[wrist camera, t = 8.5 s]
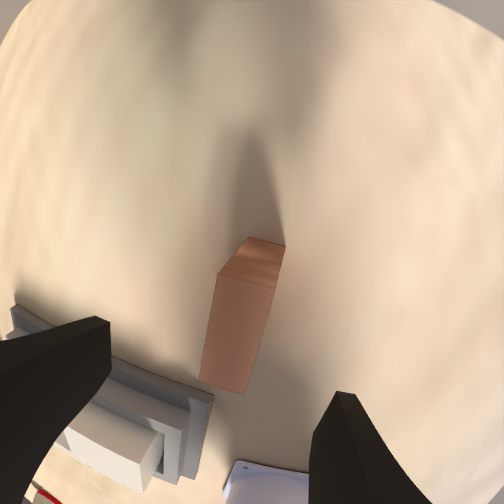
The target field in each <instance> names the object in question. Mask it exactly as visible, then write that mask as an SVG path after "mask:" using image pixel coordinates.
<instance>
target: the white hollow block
mask: <svg viewBox="0 0 504 504" xmlns="http://www.w3.org/2000/svg"><path fill="white" fill-rule="evenodd" d="M164 438H165V434H163V433H161V432H158V431H156V430H153V429H151V428H149V427H146V426H144V425H142V424H139V423H137V422H135V421H133V420H130V419H128V418H126V417H124V416H122V415H120V414H118V413H116V412H113V411H111V410H109V409H107V408H105V407H104V406H102V405H100V404H98V403H96V402H94V401H92V400H90V401H89V402H88V403H87V405H86V406H85V407H84V408H83V409H82V410H81V411H80V413H79V414H78V415H77V416H76V417H75V418H74V419H73V420H72V422H71V423H70V424H69V425H68V426H67V427H66V428H65V429H64V431H63V432H62V433H61V434H60V436H59V437H58V438H57V439H56V441H55V442H54V444H53V445H54V446H56V447H57V448H59V449H60V450H62V451H63V452H65V453H67V454H68V455H70V456H71V457H73V458H75V459H76V460H78V461H79V462H81V463H83V464H85V465H86V466H88V467H90V468H92V469H93V470H95V471H97V472H99V473H101V474H102V475H104V476H106V477H108V478H110V479H112V480H114V481H116V482H118V483H120V484H122V485H124V486H126V487H128V488H131V489H133V490H135V491H137V492H140V493H142V494H143V493H144V491H145V489H146V488H147V486H148V484H149V482H150V480H151V478H152V476H153V474H154V472H155V470H156V468H157V467H158V465H159V463H160V461H161V459H162V457H163V455H164Z"/></svg>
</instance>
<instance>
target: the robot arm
mask: <svg viewBox="0 0 504 504" xmlns="http://www.w3.org/2000/svg"><path fill="white" fill-rule="evenodd" d="M111 371H112V359H111V337H110V322H108V321H106V320H104V319H102V318H99V317H97V316H92V317H88V318H84V319H81V320H77V321H74V322H71V323H67V324H64V325H61V326H58V327H54V328H51V329H48V330H44V331H41V332H37V333H33V334H29V335H25V336H21V337H17V338H13V339H9V340H4V341H0V504H21V503H22V500H23V498H24V495H25V493H26V491H27V489H28V487H29V485H30V483H31V481H32V479H33V477H34V475H35V473H36V471H37V470H38V468H39V466H40V464H41V463H42V461H43V459H44V458H45V456H46V454H47V453H48V451H49V450H50V448H51V447H52V445H53V444H54V442H55V441H56V439H57V438H58V437H59V436H60V434H61V433H62V432H63V431H64V429H65V428H66V427H67V426H68V425H69V424H70V423H71V422H72V420H73V419H74V418H75V417H76V416H77V415H78V414H79V413H80V411H81V410H82V409H83V408H84V407H85V406H86V405H87V403H88V402H89V401H90V400H91V399H92V398H93V397H94V395H95V394H96V393H97V392H98V391H99V389H100V388H101V386H102V385H103V383H104V382H105V380H106V378H107V377H108V375H109V374H110V372H111ZM222 496H223V497H225V498H227V501H226V504H432V503H431V502H430V501H429V500H428V499H427V498H426V497H425V496H424V494H423V493H422V492H421V491H420V490H419V489H418V488H417V487H416V485H415V484H414V483H413V482H412V481H411V479H410V478H409V477H408V476H407V474H406V473H405V472H404V470H403V469H402V468H401V466H400V465H399V463H398V462H397V461H396V459H395V458H394V456H393V455H392V453H391V452H390V450H389V449H388V447H387V446H386V444H385V443H384V441H383V440H382V438H381V436H380V435H379V433H378V432H377V430H376V428H375V427H374V425H373V423H372V422H371V420H370V418H369V416H368V415H367V413H366V411H365V410H364V408H363V406H362V405H361V403H360V401H359V400H358V398H357V396H356V395H355V394H351V393H345V392H340V391H336V393H335V395H334V396H333V398H332V400H331V402H330V404H329V406H328V408H327V409H326V411H325V413H324V415H323V417H322V418H321V420H320V422H319V424H318V425H317V427H316V429H315V431H314V432H313V437H312V444H311V451H310V458H309V474H306V473H300V472H293V471H288V470H282V469H277V468H272V467H267V466H262V465H258V464H254V463H249V462H245V461H241V460H238V461H236V462H235V464H234V466H233V469H232V471H231V474H230V476H229V479H228V481H227V484H226V486H225V489H224V491H223V494H222Z"/></svg>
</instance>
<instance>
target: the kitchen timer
mask: <svg viewBox="0 0 504 504" xmlns="http://www.w3.org/2000/svg"><path fill="white" fill-rule="evenodd" d="M33 504H62V503H61V502H59V501H58V500H57V499H55V498H54V497H52V496H51V495H49V494H48V493H46V492H45V491H43V490H41V489H39V490H38V491H37V493H36V494H35V497H34V500H33Z"/></svg>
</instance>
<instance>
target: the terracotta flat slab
mask: <svg viewBox="0 0 504 504" xmlns="http://www.w3.org/2000/svg"><path fill="white" fill-rule="evenodd" d="M285 248H286V247H285V246H282V245H278V244H274V243H270V242H266V241H263V240H259V239H255V238H251V237H249V238H248V239H247V240H246V241H245V242H244V243H243V245H242V246H241V247H240V248H239V249H238V251H237V252H236V253H235V254H234V255H233V256H232V258H231V259H230V260H229V261H228V262H227V264H226V265H225V266H224V267H223V268H222V270H221V271H220V272H219V273H218V275H217V280H216V286H215V291H214V296H213V302H212V307H211V312H210V318H209V323H208V329H207V334H206V340H205V346H204V351H203V357H202V363H201V369H200V375H199V381H200V382H203V383H206V384H209V385H212V386H215V387H218V388H222V389H225V390H228V391H232V392H235V393H239V394H242V395H244V394H245V391H246V388H247V384H248V381H249V378H250V374H251V371H252V368H253V364H254V361H255V357H256V354H257V351H258V347H259V344H260V340H261V337H262V333H263V330H264V326H265V323H266V319H267V316H268V312H269V309H270V305H271V301H272V298H273V294H274V291H275V287H276V283H277V279H278V275H279V271H280V268H281V264H282V260H283V256H284V252H285Z"/></svg>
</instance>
